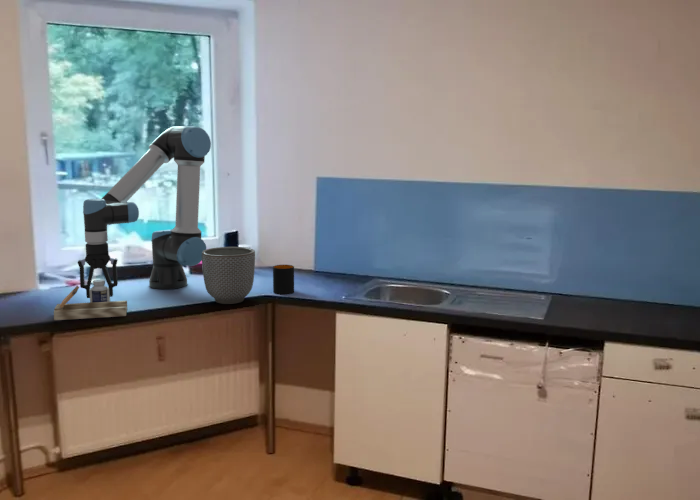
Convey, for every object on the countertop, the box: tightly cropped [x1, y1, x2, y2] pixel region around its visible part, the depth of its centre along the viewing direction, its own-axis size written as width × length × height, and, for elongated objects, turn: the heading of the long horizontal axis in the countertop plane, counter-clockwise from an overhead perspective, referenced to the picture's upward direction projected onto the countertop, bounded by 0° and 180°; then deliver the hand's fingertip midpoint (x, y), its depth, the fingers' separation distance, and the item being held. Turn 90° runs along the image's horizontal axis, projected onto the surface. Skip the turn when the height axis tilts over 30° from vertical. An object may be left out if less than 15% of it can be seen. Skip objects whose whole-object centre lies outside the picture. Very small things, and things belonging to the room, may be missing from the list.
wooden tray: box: [53, 300, 128, 321], centre depth 239 cm, size 23×10×4 cm, turn 105°
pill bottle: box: [91, 279, 108, 302], centre depth 248 cm, size 5×5×10 cm
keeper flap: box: [59, 285, 80, 308], centre depth 236 cm, size 7×9×1 cm
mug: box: [272, 264, 295, 296], centre depth 274 cm, size 8×12×10 cm
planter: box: [201, 246, 256, 305], centre depth 257 cm, size 20×20×19 cm
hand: (100, 305), depth 249 cm, fingers closed on pill bottle, 5 cm apart
